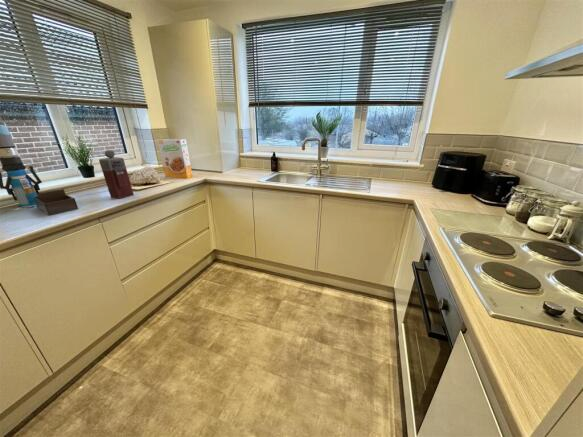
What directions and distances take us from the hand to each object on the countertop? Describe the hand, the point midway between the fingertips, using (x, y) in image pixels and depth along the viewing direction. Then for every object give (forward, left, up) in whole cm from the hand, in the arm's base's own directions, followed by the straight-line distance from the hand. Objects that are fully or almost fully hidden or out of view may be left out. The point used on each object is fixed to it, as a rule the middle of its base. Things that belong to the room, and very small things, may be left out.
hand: (27, 198), depth 133 cm
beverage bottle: (0, 0, -5) cm, 5 cm away
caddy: (+18, +7, -5) cm, 20 cm away
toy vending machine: (+25, +37, -5) cm, 45 cm away
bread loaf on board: (+7, +59, -5) cm, 60 cm away
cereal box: (+3, +88, -5) cm, 88 cm away
